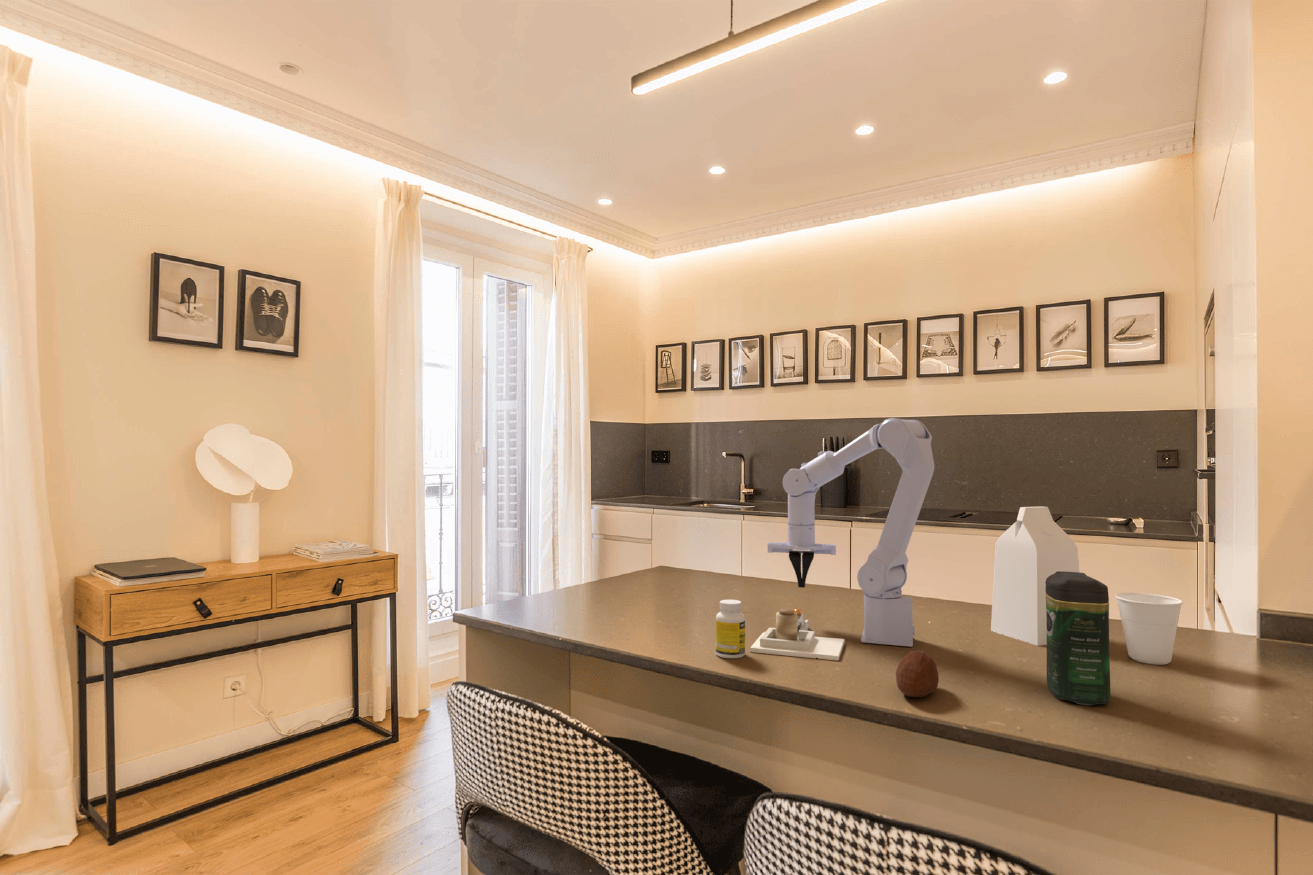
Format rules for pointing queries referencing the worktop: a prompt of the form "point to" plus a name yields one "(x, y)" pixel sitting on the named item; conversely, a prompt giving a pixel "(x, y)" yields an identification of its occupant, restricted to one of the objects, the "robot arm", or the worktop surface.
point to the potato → (917, 674)
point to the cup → (1149, 625)
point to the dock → (799, 645)
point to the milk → (1028, 573)
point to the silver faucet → (799, 619)
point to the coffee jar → (1078, 638)
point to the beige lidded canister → (786, 624)
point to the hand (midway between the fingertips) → (801, 586)
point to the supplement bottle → (730, 630)
